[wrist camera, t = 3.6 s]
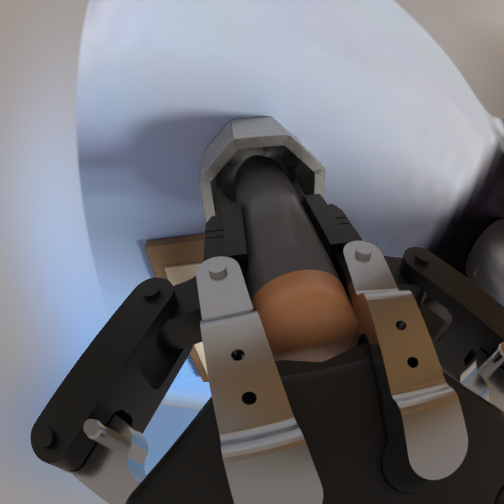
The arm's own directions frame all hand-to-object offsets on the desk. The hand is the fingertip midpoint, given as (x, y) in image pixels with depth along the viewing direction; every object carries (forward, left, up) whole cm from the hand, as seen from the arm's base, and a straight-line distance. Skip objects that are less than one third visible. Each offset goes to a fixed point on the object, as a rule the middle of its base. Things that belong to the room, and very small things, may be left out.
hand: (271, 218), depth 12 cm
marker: (0, 0, -6) cm, 6 cm away
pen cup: (0, 0, -7) cm, 7 cm away
